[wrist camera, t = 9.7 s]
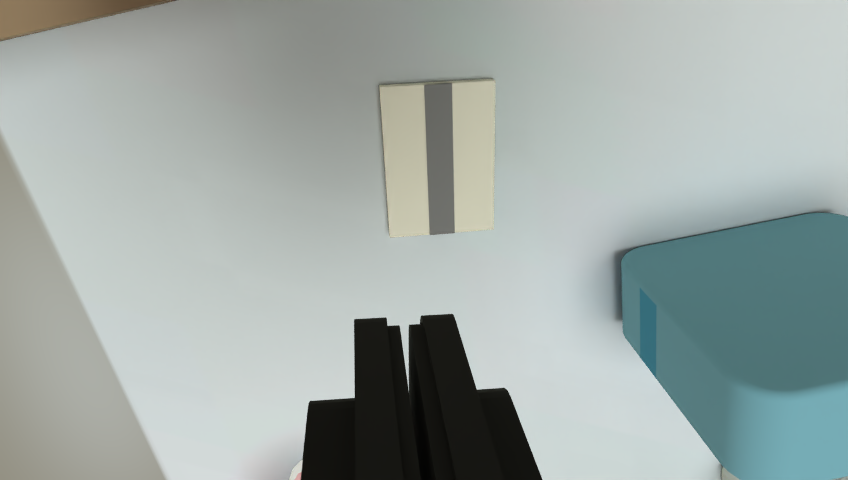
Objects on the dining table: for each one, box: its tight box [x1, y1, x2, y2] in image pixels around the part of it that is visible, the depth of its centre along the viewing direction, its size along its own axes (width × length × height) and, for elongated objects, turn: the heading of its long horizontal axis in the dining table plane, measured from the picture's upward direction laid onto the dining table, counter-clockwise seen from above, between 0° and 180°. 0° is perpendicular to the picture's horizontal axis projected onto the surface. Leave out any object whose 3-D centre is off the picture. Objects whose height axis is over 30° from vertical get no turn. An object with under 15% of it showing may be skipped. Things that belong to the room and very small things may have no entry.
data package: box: [621, 213, 848, 480], centre depth 26 cm, size 12×4×12 cm, turn 99°
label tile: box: [379, 79, 495, 238], centre depth 27 cm, size 7×5×1 cm
